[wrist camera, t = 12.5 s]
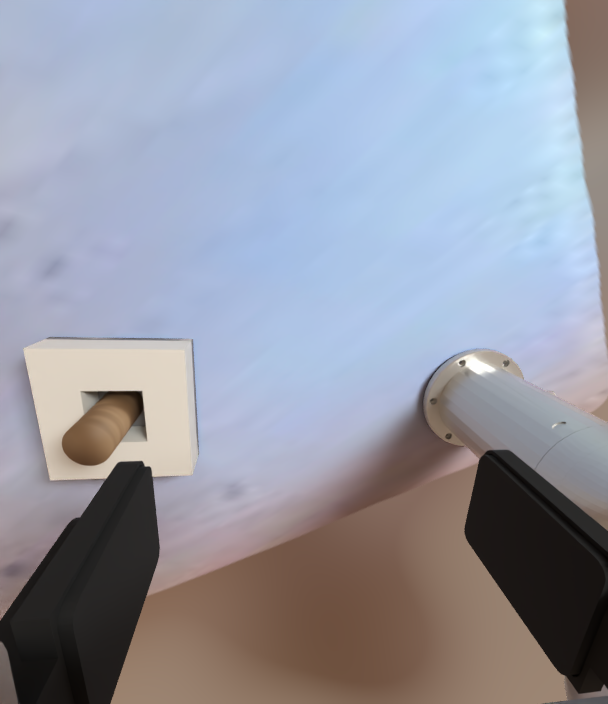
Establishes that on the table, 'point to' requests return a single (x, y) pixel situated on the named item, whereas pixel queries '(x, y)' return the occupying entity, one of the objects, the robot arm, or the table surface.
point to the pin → (102, 427)
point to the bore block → (117, 375)
